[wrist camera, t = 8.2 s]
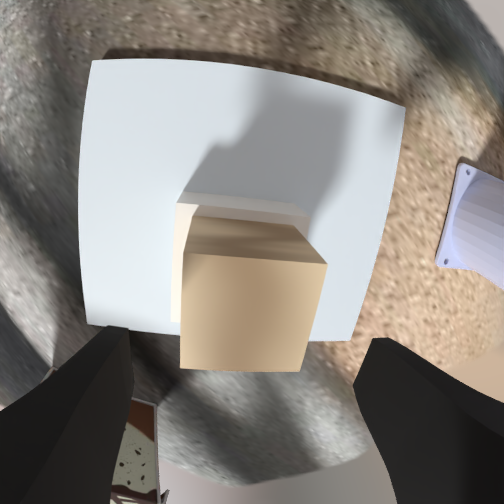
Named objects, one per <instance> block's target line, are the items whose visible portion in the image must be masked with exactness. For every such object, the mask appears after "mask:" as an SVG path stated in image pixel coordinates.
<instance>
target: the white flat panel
mask: <svg viewBox="0 0 504 504" xmlns="http://www.w3.org/2000/svg"><path fill="white" fill-rule="evenodd" d="M405 110H406V108H405V107H403V106H400V105H397V104H394V103H392V102H389V101H386V100H383V99H380V98H377V97H374V96H371V95H368V94H365V93H362V92H359V91H356V90H352V89H349V88H345V87H342V86H338V85H335V84H331V83H327V82H323V81H319V80H315V79H311V78H307V77H302V76H298V75H293V74H288V73H283V72H278V71H272V70H267V69H261V68H255V67H248V66H241V65H234V64H225V63H216V62H206V61H193V60H176V59H111V60H94V61H92V65H91V70H90V76H89V82H88V88H87V94H86V101H85V108H84V116H83V125H82V135H81V147H80V163H79V190H78V220H79V247H80V263H81V275H82V285H83V294H84V303H85V310H86V317H87V324H91V325H98V326H105V327H106V326H107V325H111V326H118V327H126V328H129V330H135V331H143V332H152V333H161V334H172V335H180V323H178V322H171V282H172V258H173V240H174V224H175V211H176V202H177V200H178V199H179V197H180V195H181V193H182V192H183V191H186V192H197V193H208V194H218V195H227V196H237V197H246V198H254V199H263V200H271V201H279V202H286V203H294V204H296V205H297V206H298V207H299V208H300V209H302V210H303V211H304V212H305V213H306V214H308V215H309V216H310V217H311V220H310V225H309V230H308V235H307V241H308V242H309V243H310V244H311V245H312V246H313V248H314V249H315V250H316V251H317V252H318V253H319V254H320V256H321V257H322V258H323V259H324V260H325V261H326V262H327V264H328V267H327V271H326V275H325V279H324V283H323V287H322V291H321V295H320V299H319V303H318V307H317V311H316V315H315V318H314V322H313V326H312V329H311V333H310V337H309V340H308V341H350V339H351V336H352V333H353V330H354V327H355V325H356V322H357V319H358V316H359V313H360V310H361V307H362V304H363V300H364V297H365V294H366V291H367V288H368V284H369V281H370V278H371V274H372V271H373V267H374V264H375V260H376V256H377V253H378V249H379V245H380V241H381V238H382V234H383V230H384V225H385V221H386V217H387V213H388V208H389V204H390V199H391V194H392V190H393V185H394V180H395V174H396V169H397V163H398V158H399V152H400V146H401V139H402V132H403V125H404V118H405Z"/></svg>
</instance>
